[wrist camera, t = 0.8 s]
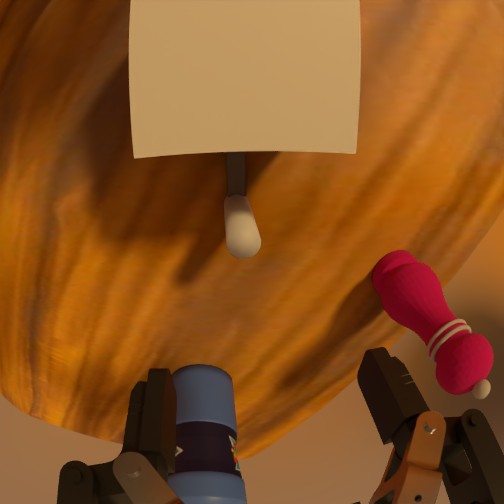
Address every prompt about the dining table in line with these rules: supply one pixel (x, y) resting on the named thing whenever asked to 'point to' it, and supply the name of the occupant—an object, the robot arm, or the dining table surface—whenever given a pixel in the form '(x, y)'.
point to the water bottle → (206, 438)
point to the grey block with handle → (239, 210)
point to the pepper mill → (434, 323)
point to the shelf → (244, 76)
